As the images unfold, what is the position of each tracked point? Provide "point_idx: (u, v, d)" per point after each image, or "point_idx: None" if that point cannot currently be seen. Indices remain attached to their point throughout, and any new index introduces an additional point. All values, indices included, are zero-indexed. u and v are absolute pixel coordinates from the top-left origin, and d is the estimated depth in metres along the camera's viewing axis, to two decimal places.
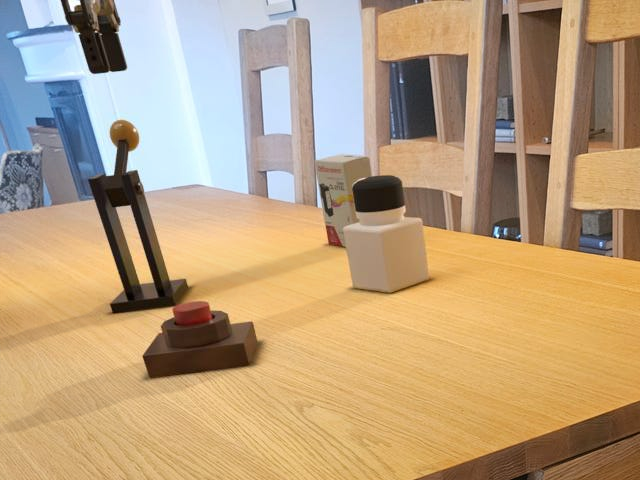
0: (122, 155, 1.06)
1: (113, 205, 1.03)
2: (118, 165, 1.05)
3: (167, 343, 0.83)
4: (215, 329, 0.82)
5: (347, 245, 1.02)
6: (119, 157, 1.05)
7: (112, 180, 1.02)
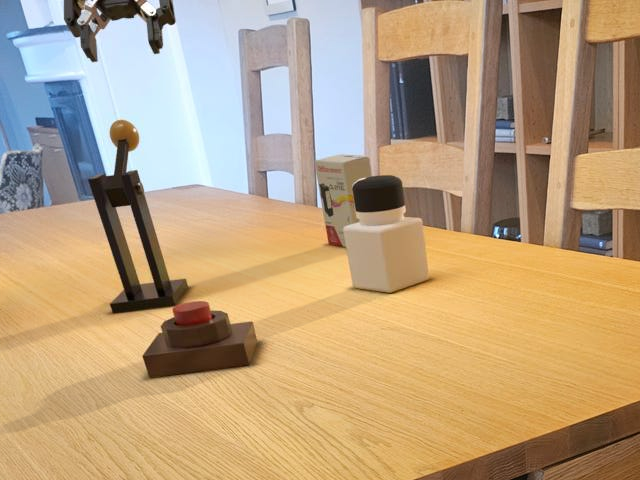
0: (122, 155, 1.06)
1: (113, 205, 1.03)
2: (118, 165, 1.05)
3: (167, 343, 0.83)
4: (215, 329, 0.82)
5: (347, 245, 1.02)
6: (119, 157, 1.05)
7: (112, 180, 1.02)
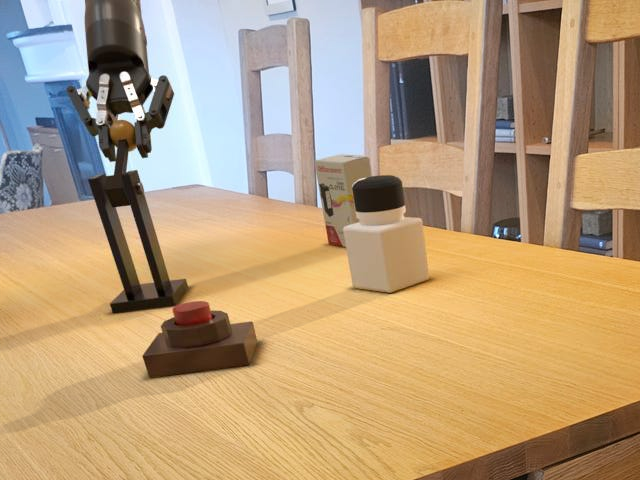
0: (122, 155, 1.06)
1: (113, 205, 1.03)
2: (118, 165, 1.05)
3: (167, 343, 0.83)
4: (215, 329, 0.82)
5: (347, 245, 1.02)
6: (119, 157, 1.05)
7: (112, 180, 1.02)
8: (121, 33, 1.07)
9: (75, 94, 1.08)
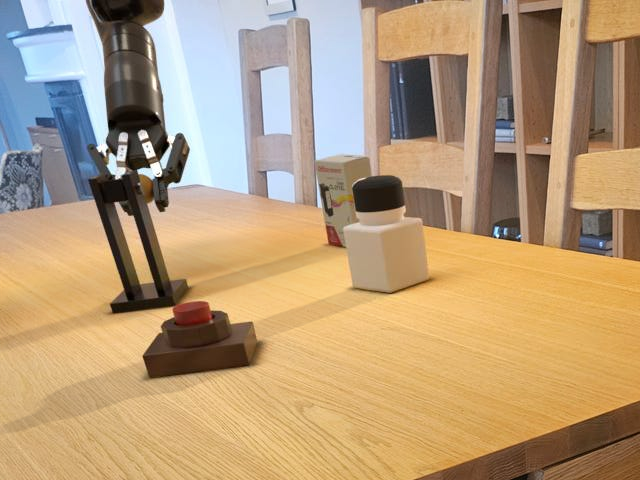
0: None
1: (110, 200, 1.02)
2: None
3: (167, 343, 0.83)
4: (215, 329, 0.82)
5: (347, 245, 1.02)
6: None
7: None
8: (139, 93, 1.12)
9: (95, 151, 1.13)
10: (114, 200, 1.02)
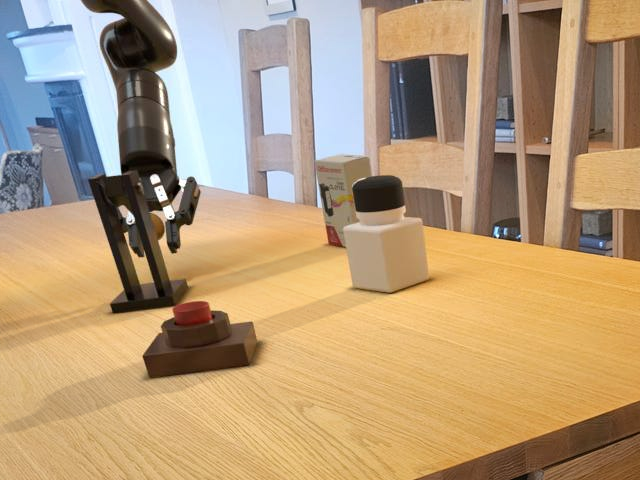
0: None
1: (108, 194, 1.01)
2: None
3: (167, 343, 0.83)
4: (215, 329, 0.82)
5: (347, 245, 1.02)
6: None
7: None
8: (152, 139, 1.15)
9: None
10: (112, 194, 1.02)
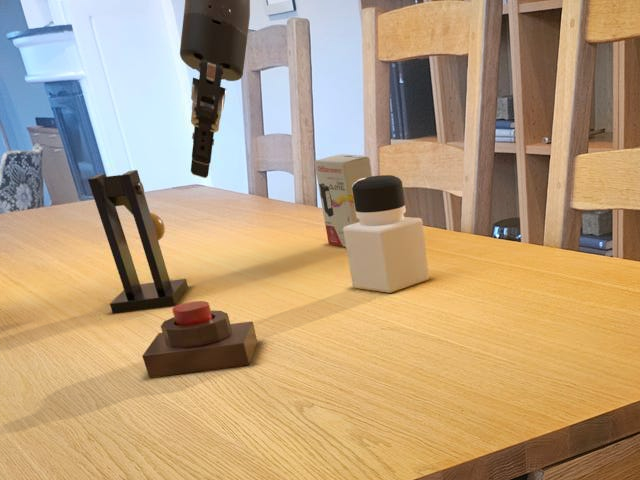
0: None
1: (108, 194, 1.01)
2: None
3: (167, 343, 0.83)
4: (215, 329, 0.82)
5: (347, 245, 1.02)
6: None
7: None
8: (186, 31, 0.99)
9: None
10: (112, 194, 1.02)
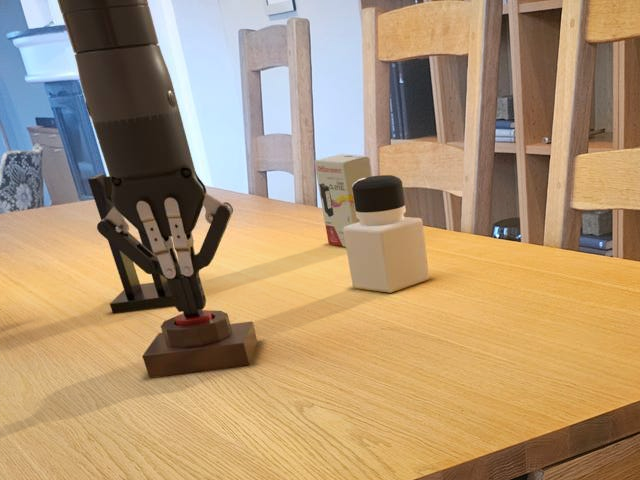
0: None
1: (108, 194, 1.01)
2: None
3: (167, 343, 0.83)
4: (215, 329, 0.82)
5: (347, 245, 1.02)
6: None
7: None
8: None
9: None
10: None
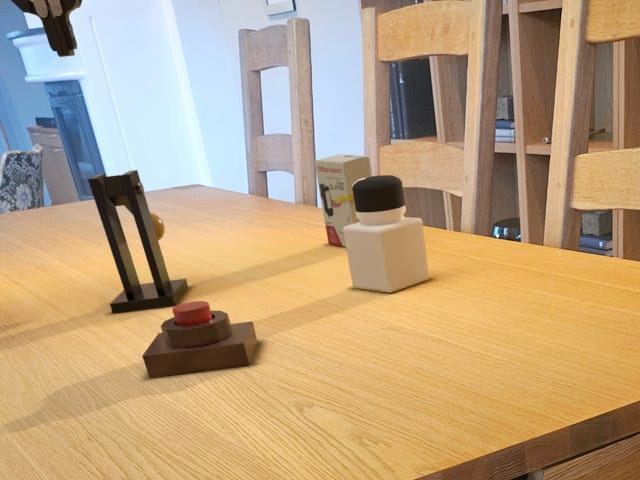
0: None
1: (108, 194, 1.01)
2: None
3: (167, 343, 0.83)
4: (215, 329, 0.82)
5: (347, 245, 1.02)
6: None
7: None
8: None
9: None
10: (112, 194, 1.02)
